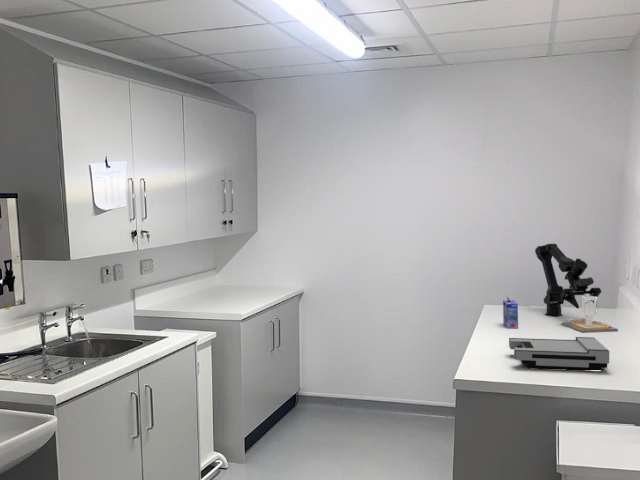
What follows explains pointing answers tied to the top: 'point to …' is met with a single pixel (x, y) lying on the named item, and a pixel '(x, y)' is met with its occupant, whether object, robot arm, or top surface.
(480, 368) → the top surface
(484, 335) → the top surface
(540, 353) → the game console
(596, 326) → the panel
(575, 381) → the top surface
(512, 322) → the ink cartridge box
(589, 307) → the white piece
